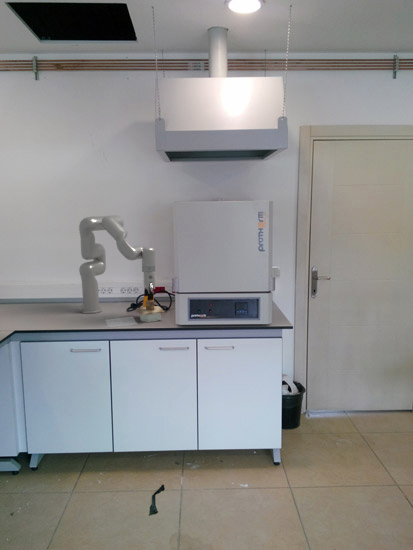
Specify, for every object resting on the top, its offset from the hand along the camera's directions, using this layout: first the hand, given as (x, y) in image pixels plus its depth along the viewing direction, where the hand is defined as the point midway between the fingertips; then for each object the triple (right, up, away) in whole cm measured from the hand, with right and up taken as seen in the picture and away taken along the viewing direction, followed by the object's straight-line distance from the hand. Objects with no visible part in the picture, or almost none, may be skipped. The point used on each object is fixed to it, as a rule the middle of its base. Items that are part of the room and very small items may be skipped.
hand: (148, 298), depth 222 cm
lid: (+1, -8, +1) cm, 8 cm away
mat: (-15, -14, -4) cm, 21 cm away
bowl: (+1, -13, +2) cm, 13 cm away
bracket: (-1, -10, +18) cm, 21 cm away
